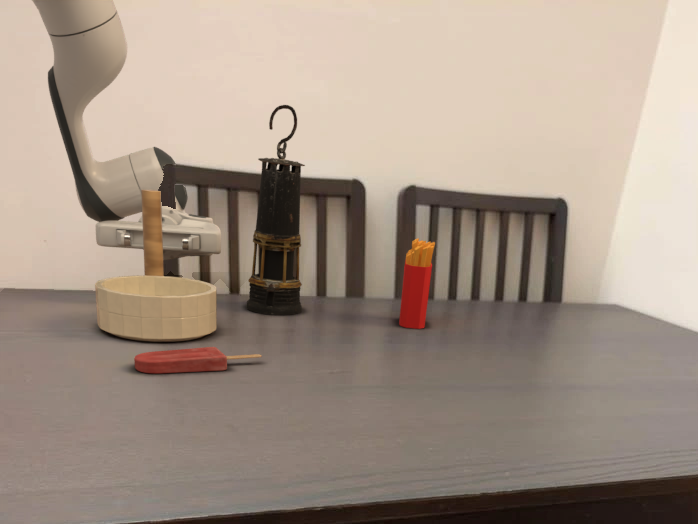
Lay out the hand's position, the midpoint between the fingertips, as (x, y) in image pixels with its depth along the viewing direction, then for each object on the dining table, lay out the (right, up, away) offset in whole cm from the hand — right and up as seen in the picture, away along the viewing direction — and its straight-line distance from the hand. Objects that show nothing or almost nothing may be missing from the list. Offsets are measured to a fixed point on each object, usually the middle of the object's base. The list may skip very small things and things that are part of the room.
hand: (156, 242), depth 116 cm
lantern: (+18, -10, +4) cm, 21 cm away
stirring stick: (+1, -11, -3) cm, 11 cm away
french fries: (+41, -13, +2) cm, 43 cm away
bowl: (+5, -17, -16) cm, 24 cm away
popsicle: (+14, -25, -30) cm, 41 cm away
